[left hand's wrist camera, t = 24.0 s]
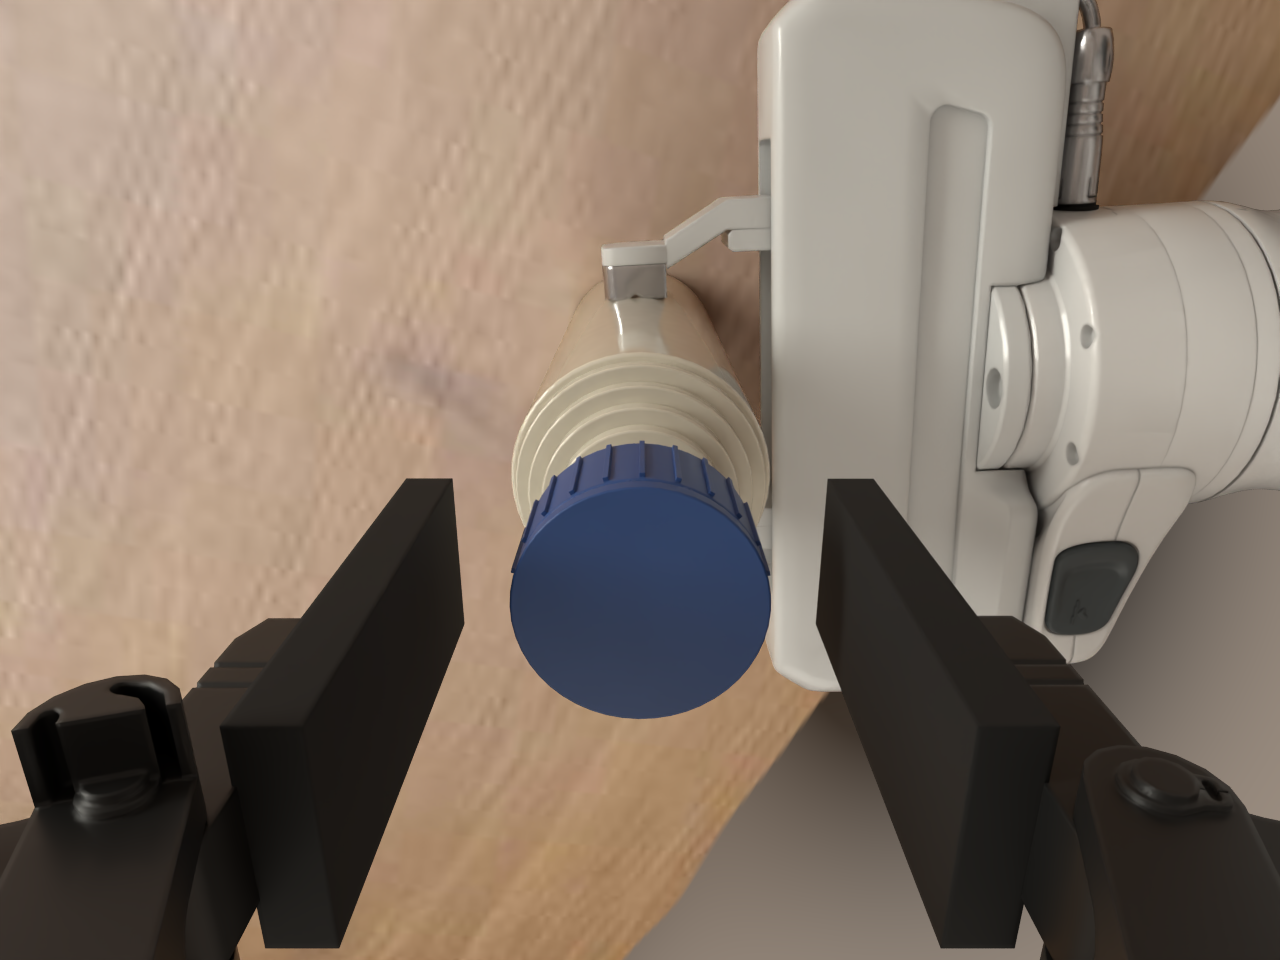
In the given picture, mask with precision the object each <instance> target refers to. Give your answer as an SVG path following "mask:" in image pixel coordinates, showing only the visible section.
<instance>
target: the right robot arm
mask: <svg viewBox="0 0 1280 960" xmlns="http://www.w3.org/2000/svg"><path fill="white" fill-rule="evenodd" d="M1079 10H1080V13H1081V16H1082V21H1083V29H1081V30H1077V21H1078V12H1079ZM1076 30H1077V31H1076ZM1113 60H1114V37H1113V31H1112V28H1111V27H1101V19H1100V13H1099V9H1098V4H1097V2H1096V0H790V1H789V2H788V3H787V4H786V5H785V6H783V7H782V8H781V10H780V11H779V12H778V13H777V14H776V15H775V16H774V18H773V19H772V20H771V21H770V23H769V24H768V26H767V27H766V28H765V30H764V31H763V33H762V34H761V37H760V39H759V42H758V50H757V77H758V195H747V196H732V197H719V198H718V199H716V200H715V201H713V202H712V203H710V204H709V205H708V206H706V207H705V208H703V209H702V210H700V211H699V212H697V213H696V214H694V215H693V216H691V217H690V218H688V219H687V220H685V221H684V222H683V223H681V224H680V225H678V226H677V227H675V228H674V229H672V230H671V231H669V232H668V233H666V234H665V235H664V240H651V241H634V242H618V243H611V244H604V245H602V247H601V253H602V269H603V280H604V291H605V300H608V301H620V300H625V299H630V298H631V297H632V296H634V295H635V294H636V295H638V296H639V297H641V298H647V299H657V298H667V286H666V266H667V268H670V267H671V266H673V265H674V264H676V263H677V262H679V261H680V260H682V259H683V258H685V257H686V256H688V255H689V254H691V253H692V252H694V251H696V250H697V249H699V248H700V247H702V246H703V245H705V244H706V243H708V242H709V241H711V240H712V239H714V238H715V237H717V236H718V235H720V234H722V242H723V244H724V245H725V246H727V247H728V248H729V249H730V250H731V251H732V252H740V251H759V313H760V428H761V430H762V432H763V435H764V439H765V442H766V446H767V449H768V456H769V463H770V484H769V491H768V497H767V501H766V505H765V508H764V512H763V514H762V516H761V519H760V521H759V523H758V526H757V528H756V529H757V532H758V536H759V539H760V542H761V545H762V548H763V551H764V554H765V558H766V561H767V564H768V567H769V570H770V576H768V579H769V584H770V591H771V615H770V621H769V627H768V630H767V633H766V636H765V639H766V643H767V647H768V650H769V653H770V657H771V660H772V663H773V666H774V668H775V670H776V671H777V672H778V673H780V674H781V675H782V676H784V677H785V678H787V679H789V680H790V681H792V682H794V683H796V684H797V685H799V686H801V687H803V688H805V689H808V690H811V691H821V692H829V691H841V688H840V686H839V683H838V681H837V678H836V676H835V673H834V670H833V668H832V665H831V663H830V660H829V657H828V655H827V652H826V650H825V647H824V644H823V642H822V639H821V637H820V634H819V632H818V629H817V626H816V613H817V601H818V589H819V577H820V564H821V552H822V540H823V528H824V516H825V504H826V492H827V480H828V479H874V480H875V481H876V482H877V484H878V485H879V486H880V488H881V489H882V490H883V492H884V493H885V494H886V496H887V497H888V498H889V500H890V501H891V502H892V504H893V505H894V506H895V508H896V509H897V510H898V512H899V513H900V514H901V516H902V517H903V518H904V520H905V521H906V522H907V524H908V525H909V526H910V527H911V529H912V530H913V531H914V533H915V534H916V535H917V537H918V538H919V539H920V541H921V542H922V543H923V545H924V546H925V547H926V549H927V550H928V551H929V553H930V554H931V555H932V557H933V558H934V559H935V561H936V562H937V563H938V565H939V566H940V567H941V569H942V570H943V571H944V572H945V574H946V575H947V576H948V578H949V579H950V580H951V582H952V583H953V584H954V586H955V587H956V588H957V590H958V591H959V592H960V594H961V595H962V596H963V598H964V599H965V600H966V602H967V603H968V604H969V606H970V607H971V608H972V610H973V611H974V612H975V614H976V615H977V616H1014V617H1015V618H1017V619H1018V620H1020V621H1022V622H1023V623H1025V624H1027V625H1028V626H1030V627H1032V628H1033V629H1035V630H1037V631H1038V632H1040V633H1041V634H1043V635H1045V636H1046V637H1047V638H1048V639H1049V641H1050V642H1051V643H1052V644H1053V645H1054V646H1055V647H1056V649H1057V650H1058V651H1059V652H1060V653H1061V654H1062V656H1063V657H1064V658H1065V659H1066V664H1067V663H1076V662H1081V661H1085V660H1087V659H1089V658H1091V657H1092V656H1094V655H1095V654H1096V653H1097V652H1098V651H1099V650H1100V648H1101V647H1102V646H1103V644H1104V643H1105V641H1106V639H1107V638H1108V636H1109V634H1110V632H1111V630H1112V628H1113V626H1114V624H1115V622H1116V621H1117V619H1118V617H1119V615H1120V613H1121V611H1122V609H1123V607H1124V605H1125V603H1126V601H1127V600H1128V598H1129V596H1130V594H1131V592H1132V590H1133V588H1134V587H1135V585H1136V583H1137V581H1138V579H1139V578H1140V576H1141V574H1142V572H1143V571H1144V569H1145V567H1146V566H1147V564H1148V562H1149V561H1150V559H1151V557H1152V556H1153V554H1154V553H1155V551H1156V550H1157V548H1158V546H1159V545H1160V543H1161V542H1162V540H1163V539H1164V537H1165V536H1166V534H1167V533H1168V531H1169V530H1170V529H1171V527H1172V526H1173V525H1174V523H1175V522H1176V520H1177V519H1178V518H1179V516H1180V515H1181V514H1182V512H1183V511H1184V509H1185V508H1186V506H1187V504H1188V503H1197V502H1201V501H1205V500H1209V499H1213V498H1216V497H1220V496H1223V495H1227V494H1231V493H1235V492H1239V491H1244V490H1252V489H1269V490H1279V491H1280V210H1271V211H1264V210H1256V209H1252V208H1249V207H1245V206H1241V205H1237V204H1232V203H1227V202H1222V201H1187V202H1169V203H1154V204H1137V205H1120V206H1099V205H1096V198H1097V191H1098V182H1099V173H1100V165H1101V156H1102V145H1103V135H1101V134H1102V132H1103V125H1102V124H1101V122H1103V114H1101V113H1102V111H1103V107H1104V103H1103V102H1102V101H1103V100H1104V98H1105V91H1106V83H1107V82H1109V81H1110V77H1111V73H1112V67H1113ZM1054 206H1055V207H1054Z"/></svg>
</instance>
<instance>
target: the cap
mask: <svg viewBox="0 0 1280 960" xmlns="http://www.w3.org/2000/svg"><path fill="white" fill-rule="evenodd" d="M511 573H514V575H513V579H512V585H511V590H510V613H511V622H512V626H513V629H514V633H515V637H516V639H517V641H518V644H519V646H520V648H521V651H522V652H523V654H524V656H525V657H526V659H527V661H528V662H529V664H530V665H531V666H532V668H533V669H534V670H535V671H536V673H537V674H538V675H539V676H540V677H541V678H542V679H543V680H544V681H545V682H546V683H547V684H548V685H549V686H550V687H551V688H553V689H554V690H555V691H557V692H558V693H559V694H561V695H562V696H563V697H565V698H567V699H569V700H570V701H572V702H574V703H576V704H578V705H580V706H582V707H585V708H587V709H589V710H592V711H595V712H599V713H602V714H605V715H610V716H615V717H621V718H633V719H648V718H659V717H666V716H672V715H675V714H679V713H683V712H686V711H689V710H692V709H694V708H697V707H699V706H701V705H703V704H705V703H707V702H709V701H711V700H713V699H715V698H716V697H717V696H719V695H720V694H722V693H723V692H725V691H726V690H727V689H729V688H730V687H731V686H732V685H733V684H734V683H735V682H736V681H737V680H739V679H740V677H741V676H742V675H743V674H744V673H745V672H746V670H747V669H748V668H749V667H750V665H751V664H752V662H753V661H754V659H755V658H756V656H757V654H758V653H759V650H760V648H761V646H762V644H763V642H764V640H765V636H766V633H767V630H768V627H769V621H770V615H771V591H770V584H769V579H768V576H770V570H769V567H768V564H767V561H766V558H765V554H764V551H763V548H762V545H761V542H760V539H759V536H758V532H757V529H756V526H755V523H754V520H753V517H752V514H751V511H750V508H749V505H748V503H747V502H745V503H743V501H742V499H741V498H740V496H739V494H738V493H737V491H736V490H735V488H734V486H733V482H732V480H731V479H730V477H728V478H727V479H726V478H725V477H724V476H723V475H722V474H721V473H720V472H718V471H717V470H716V469H715V468H714V467H712V466H711V465H709V464H708V460H707V459H706V458H704V457H703V458H702V459H700V458H698V457H696V456H694V455H692V454H690V453H688V452H685V451H682V450H679V449H678V446H676V445H673V446H672V447H668V446H663V445H658V444H646V443H645V441H639V443H636V444H635V443H633V444H624V445H618V446H612V445H611V444H609V445H606V448H605V449H602V450H599V451H596V452H594V453H592V454H589V455H587V456H585V457H583V458H582V457H581V456H579V457H577V458H576V461H575V463H573V464H572V465H570V466H569V467H568V468H566V469H565V470H564V471H563V472H561V473H560V474H559V475H558V476H555V475H554V476H553V477H552V478H551V480H550V484H549V486H548V487H547V489H546V490H545V492H544V493H543V494H542V496H541V497H540V499H539V501H538V500H536V499H535V501H534V503H533V506H532V509H531V512H530V516H529V519H528V522H527V525H526V527H525V529H524V532H523V535H522V538H521V541H520V544H519V547H518V550H517V553H516V556H515V560H514V563H513V566H512V569H511Z"/></svg>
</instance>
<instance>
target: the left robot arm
mask: <svg viewBox="0 0 1280 960" xmlns="http://www.w3.org/2000/svg"><path fill="white" fill-rule="evenodd" d="M463 626H464V613H463V601H462V589H461V577H460V564H459V552H458V540H457V528H456V516H455V504H454V492H453V480H452V479H406V480H405V481H404V482H403V484H402V485H401V486H400V488H399V489H398V490H397V492H396V493H395V494H394V496H393V497H392V498H391V500H390V501H389V502H388V504H387V505H386V506H385V508H384V509H383V510H382V512H381V513H380V514H379V516H378V517H377V518H376V520H375V521H374V522H373V524H372V525H371V526H370V527H369V529H368V530H367V531H366V533H365V534H364V535H363V537H362V538H361V539H360V541H359V542H358V543H357V545H356V546H355V547H354V549H353V550H352V551H351V553H350V554H349V555H348V557H347V558H346V559H345V561H344V562H343V563H342V565H341V566H340V567H339V569H338V570H337V571H336V572H335V574H334V575H333V576H332V578H331V579H330V580H329V582H328V583H327V584H326V586H325V587H324V588H323V590H322V591H321V592H320V594H319V595H318V596H317V598H316V599H315V600H314V602H313V603H312V604H311V606H310V607H309V608H308V610H307V611H306V612H305V614H304V615H303V616H302V617H301V618H268V619H266V620H265V621H263V622H262V623H260V624H258V625H257V626H255V627H253V628H252V629H250V630H249V631H247V632H245V633H244V634H242V635H240V636H239V637H237V638H236V639H234V641H233V642H232V643H231V644H230V645H229V646H228V648H227V649H226V650H225V651H224V652H223V653H222V655H221V656H220V657H219V658H218V659H217V660H216V661H215V663H214V668H209V670H208V671H207V672H206V673H205V674H204V675H203V677H202V678H201V679H200V680H199V681H198V682H197V688H192V689H191V690H190V692H189V693H188V694H187V695H186V696H185V697H184V699H183V700H182V697H181V693H180V688H178V687H177V686H176V685H174V684H173V683H172V682H170V681H169V680H168V679H165V678H160V677H155V676H150V675H131V676H116V677H112V678H108V679H104V680H99V681H95V682H91V683H87V684H84V685H81V686H79V687H76V688H74V689H71V690H69V691H66V692H64V693H62V694H59V695H57V696H54V697H52V698H51V699H49V700H48V701H46V702H45V703H43V704H41V705H40V706H38V707H37V708H35V709H33V710H32V711H30V712H29V713H27V714H26V715H25V717H24V718H23V719H22V720H21V721H20V722H19V723H18V724H17V725H16V726H15V727H14V728H13V729H12V731H11V732H12V735H13V739H14V742H15V745H16V748H17V751H18V755H19V758H20V761H21V764H22V768H23V771H24V774H25V777H26V780H27V784H28V787H29V790H30V793H31V797H32V800H33V803H34V806H35V809H34V811H33V813H32V815H31V817H30V818H28V819H24V820H20V821H16V822H11V823H7V824H2V825H0V960H240V957H239V953H238V948H237V944H238V942H239V940H240V938H241V936H242V934H243V933H244V931H245V929H246V927H247V925H248V923H249V921H250V919H251V917H252V915H253V913H254V911H255V909H256V908H257V910H258V915H259V920H260V925H261V930H262V934H263V939H264V944H265V948H339V947H340V945H341V942H342V940H343V937H344V934H345V932H346V929H347V927H348V924H349V921H350V919H351V916H352V914H353V911H354V909H355V906H356V903H357V901H358V898H359V896H360V893H361V890H362V888H363V885H364V883H365V880H366V877H367V875H368V872H369V870H370V867H371V865H372V862H373V859H374V857H375V854H376V852H377V849H378V846H379V844H380V841H381V839H382V836H383V833H384V831H385V828H386V826H387V823H388V821H389V818H390V815H391V813H392V810H393V808H394V805H395V802H396V800H397V797H398V795H399V792H400V789H401V787H402V784H403V782H404V779H405V777H406V774H407V771H408V769H409V766H410V764H411V761H412V758H413V756H414V753H415V751H416V748H417V745H418V743H419V740H420V738H421V735H422V733H423V730H424V727H425V725H426V722H427V720H428V717H429V714H430V712H431V709H432V707H433V704H434V701H435V699H436V696H437V694H438V691H439V688H440V686H441V683H442V681H443V678H444V676H445V673H446V670H447V668H448V665H449V663H450V660H451V657H452V655H453V652H454V650H455V647H456V644H457V642H458V639H459V637H460V634H461V632H462V629H463ZM816 626H817V629H818V632H819V634H820V637H821V639H822V642H823V644H824V647H825V650H826V652H827V655H828V657H829V660H830V663H831V665H832V668H833V670H834V673H835V676H836V678H837V681H838V683H839V686H840V688H841V691H842V694H843V696H844V699H845V701H846V704H847V707H848V709H849V712H850V714H851V717H852V720H853V722H854V725H855V727H856V730H857V733H858V735H859V738H860V740H861V743H862V745H863V748H864V751H865V753H866V756H867V758H868V761H869V764H870V766H871V769H872V771H873V774H874V777H875V779H876V782H877V784H878V787H879V789H880V792H881V795H882V797H883V800H884V802H885V805H886V807H887V810H888V813H889V815H890V818H891V821H892V823H893V826H894V828H895V831H896V833H897V836H898V839H899V841H900V844H901V846H902V849H903V852H904V854H905V857H906V859H907V862H908V865H909V867H910V870H911V872H912V875H913V877H914V880H915V883H916V885H917V888H918V890H919V893H920V896H921V898H922V901H923V903H924V906H925V908H926V911H927V914H928V916H929V919H930V921H931V924H932V927H933V929H934V932H935V934H936V937H937V940H938V942H939V945H940V947H941V948H1015V944H1016V939H1017V934H1018V930H1019V925H1020V920H1021V915H1022V910H1023V905H1025V907H1026V909H1027V911H1028V913H1029V915H1030V917H1031V919H1032V920H1033V922H1034V924H1035V926H1036V928H1037V930H1038V932H1039V934H1040V936H1041V938H1042V940H1043V941H1044V944H1043V948H1042V953H1041V957H1040V960H1280V821H1278V820H1273V819H1268V818H1263V817H1260V816H1256V815H1252V814H1249V813H1248V811H1247V809H1246V807H1245V806H1244V804H1243V803H1242V802H1241V800H1240V799H1239V798H1238V797H1237V795H1236V794H1235V793H1234V792H1233V790H1232V789H1231V788H1230V787H1229V786H1228V785H1227V784H1225V783H1224V782H1222V781H1221V780H1220V779H1218V778H1217V777H1216V776H1214V775H1213V774H1211V773H1210V772H1209V771H1207V770H1206V769H1204V768H1202V767H1200V766H1198V765H1196V764H1194V763H1192V762H1189V761H1187V760H1185V759H1183V758H1181V757H1179V756H1177V755H1173V754H1170V753H1166V752H1163V751H1159V750H1155V749H1152V748H1148V747H1142V746H1141V745H1140V744H1139V743H1138V742H1137V741H1136V740H1135V738H1134V737H1133V736H1132V735H1131V734H1130V733H1129V731H1128V730H1127V729H1126V728H1125V727H1124V726H1123V725H1122V723H1121V722H1120V721H1119V720H1118V719H1117V718H1116V717H1115V715H1114V714H1113V713H1112V712H1111V711H1110V710H1109V708H1108V707H1107V706H1106V705H1105V704H1104V703H1103V702H1102V700H1101V699H1100V698H1099V697H1098V696H1097V695H1096V694H1095V692H1094V691H1093V690H1092V689H1091V688H1090V687H1089V685H1084V683H1083V679H1082V677H1081V676H1080V675H1079V674H1078V673H1077V672H1076V670H1075V669H1074V668H1073V667H1072V666H1071V665H1067V664H1066V659H1065V658H1064V657H1063V656H1062V654H1061V653H1060V652H1059V651H1058V650H1057V649H1056V647H1055V646H1054V645H1053V644H1052V643H1051V642H1050V641H1049V639H1048V638H1047V637H1046V636H1045V635H1043V634H1041V633H1040V632H1038V631H1037V630H1035V629H1033V628H1032V627H1030V626H1028V625H1027V624H1025V623H1023V622H1022V621H1020V620H1018V619H1017V618H1015V617H1014V616H977V615H976V614H975V612H974V611H973V610H972V608H971V607H970V606H969V604H968V603H967V602H966V600H965V599H964V598H963V596H962V595H961V594H960V592H959V591H958V590H957V588H956V587H955V586H954V584H953V583H952V582H951V580H950V579H949V578H948V576H947V575H946V574H945V572H944V571H943V570H942V569H941V567H940V566H939V565H938V563H937V562H936V561H935V559H934V558H933V557H932V555H931V554H930V553H929V551H928V550H927V549H926V547H925V546H924V545H923V543H922V542H921V541H920V539H919V538H918V537H917V535H916V534H915V533H914V531H913V530H912V529H911V527H910V526H909V525H908V524H907V522H906V521H905V520H904V518H903V517H902V516H901V514H900V513H899V512H898V510H897V509H896V508H895V506H894V505H893V504H892V502H891V501H890V500H889V498H888V497H887V496H886V494H885V493H884V492H883V490H882V489H881V488H880V486H879V485H878V484H877V482H876V481H875V480H874V479H828V480H827V492H826V504H825V516H824V528H823V540H822V552H821V564H820V577H819V589H818V601H817V613H816Z"/></svg>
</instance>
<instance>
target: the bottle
mask: <svg viewBox="0 0 1280 960" xmlns="http://www.w3.org/2000/svg"><path fill="white" fill-rule="evenodd" d="M666 286H667V298H657V299H647V298H641V297H639V296H638V295H636V294H635V295H634V296H632V297H631V298H630V299H625V300H620V301H608V300H605V291H604V280H602V281H601V282H599V283H598V284H596V285H595V286H594V287H593V288H592V289H591V290H590V291H589V292H588V293H587V294H586V295H585V296H584V297H583V299H582V300H581V302H580V303H579V305H578V306H577V308H576V310H575V312H574V315H573V317H572V319H571V321H570V323H569V325H568V327H567V330H566V332H565V334H564V336H563V338H562V340H561V342H560V345H559V347H558V349H557V351H556V353H555V355H554V358H553V360H552V362H551V364H550V366H549V368H548V370H547V373H546V375H545V377H544V379H543V381H542V383H541V385H540V388H539V390H538V392H537V394H536V396H535V398H534V401H533V403H532V405H531V407H530V409H529V411H528V413H527V416H526V418H525V420H524V422H523V424H522V426H521V428H520V431H519V433H518V436H517V440H516V443H515V446H514V451H513V458H512V468H511V481H512V489H513V496H514V500H515V504H516V508H517V511H518V513H519V516H520V518H521V521H522V523H523V525H524V527H526V525H527V522H528V519H529V516H530V512H531V509H532V506H533V503H534V501H535V499H536V500H538V501H539V499H540V497H541V496H542V494H543V493H544V492H545V490H546V489H547V487H548V486H549V484H550V480H551V478H552V477H553V476H554V475H555V476H558V475H559V474H560V473H561V472H563V471H564V470H565V469H566V468H568V467H569V466H570V465H572V464H573V463H575V461H576V458H577V457H579V456H581V457H582V458H583V457H585V456H587V455H589V454H592V453H594V452H596V451H599V450H602V449H605V448H606V445H609V444H611V445H612V446H618V445H624V444H633V443H635V444H636V443H639V441H645V443H646V444H658V445H663V446H668V447H672V446H673V445H676V446H678V449H679V450H682V451H685V452H688V453H690V454H692V455H694V456H696V457H698V458H700V459H702V458H703V457H704V458H706V459H707V460H708V464H709V465H711V466H712V467H714V468H715V469H716V470H717V471H718V472H720V473H721V474H722V475H723V476H724V477H725V478H726V479H727V478H728V477H730V479H731V480H732V482H733V486H734V488H735V490H736V491H737V493H738V494H739V496H740V498H741V499H742V501H743V503H745V502H747V503H748V505H749V508H750V511H751V514H752V517H753V520H754V523H755V526H756V528H757V526H758V523H759V521H760V519H761V516H762V514H763V512H764V508H765V505H766V501H767V497H768V491H769V484H770V463H769V456H768V449H767V446H766V442H765V439H764V435H763V432H762V430H761V428H760V426H759V424H758V421H757V419H756V417H755V415H754V413H753V411H752V408H751V406H750V404H749V402H748V400H747V398H746V396H745V393H744V391H743V389H742V387H741V385H740V383H739V380H738V378H737V376H736V374H735V372H734V370H733V367H732V365H731V363H730V361H729V359H728V357H727V355H726V352H725V350H724V348H723V346H722V344H721V342H720V339H719V337H718V335H717V333H716V331H715V329H714V327H713V324H712V322H711V320H710V318H709V316H708V314H707V311H706V309H705V307H704V306H703V304H702V302H701V301H700V299H699V298H698V297H697V296H696V294H695V293H694V292H693V291H692V290H691V289H690V288H689V287H687V286H686V285H685V284H683V283H682V282H681V281H679V280H678V279H676V278H674V277H672V276H670V275H667V274H666Z"/></svg>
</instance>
